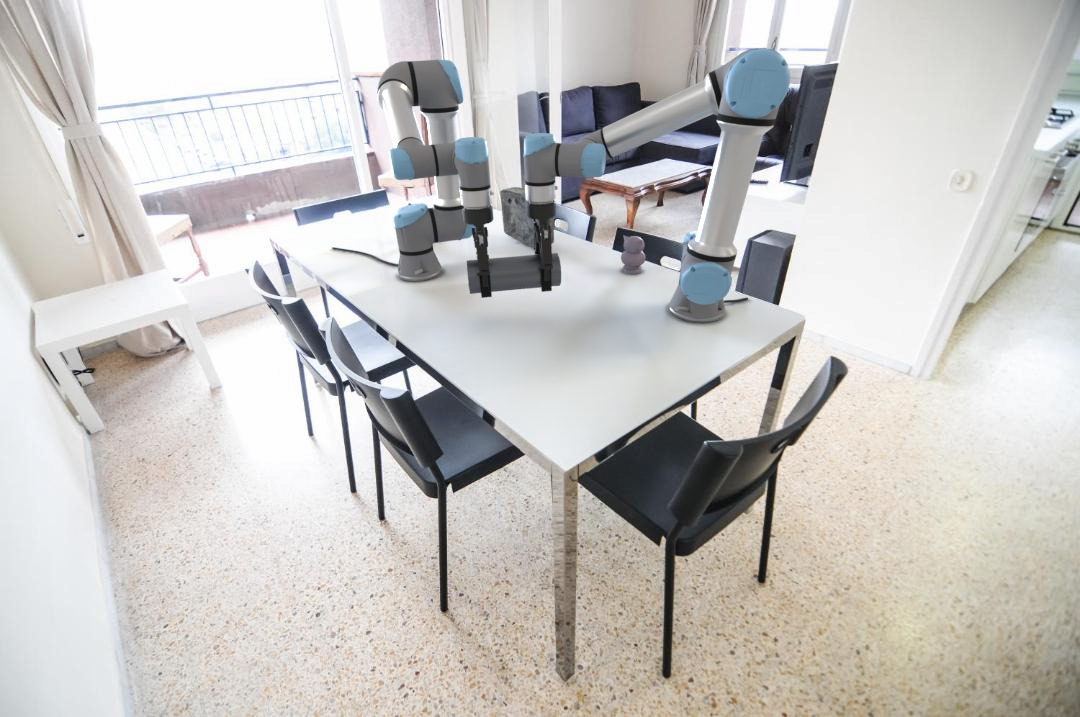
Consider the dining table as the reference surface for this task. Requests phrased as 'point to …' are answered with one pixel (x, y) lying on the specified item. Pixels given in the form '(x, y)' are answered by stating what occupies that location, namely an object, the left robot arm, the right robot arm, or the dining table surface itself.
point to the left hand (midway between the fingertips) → (485, 289)
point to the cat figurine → (633, 254)
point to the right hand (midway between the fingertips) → (543, 283)
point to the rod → (513, 273)
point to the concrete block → (519, 216)
